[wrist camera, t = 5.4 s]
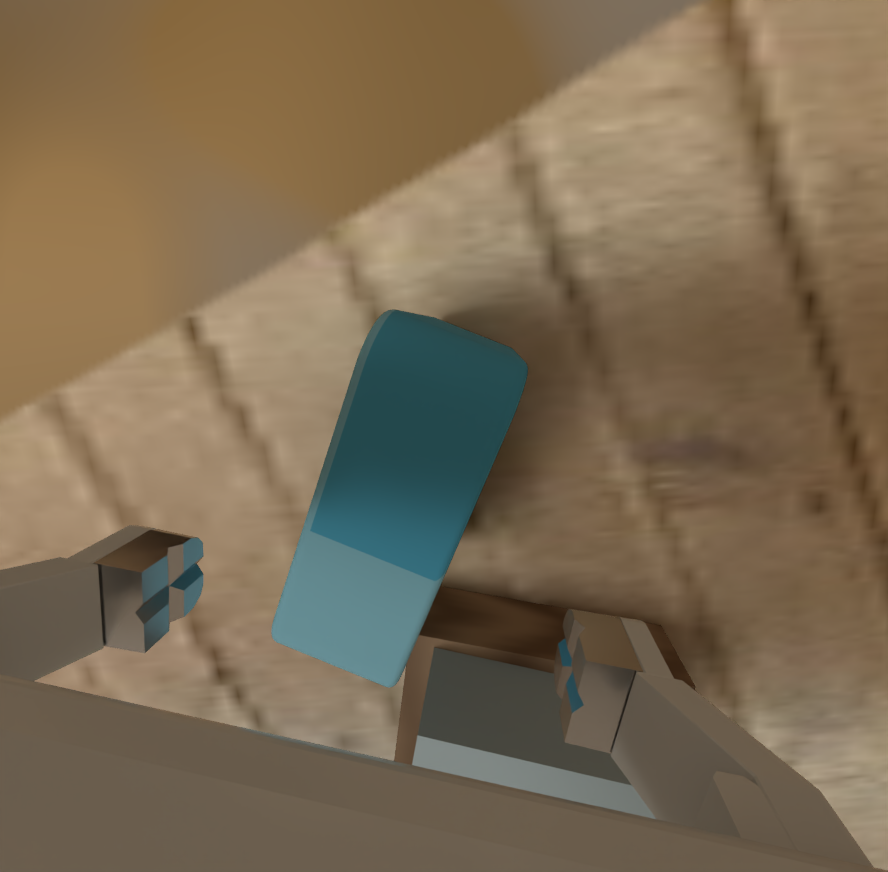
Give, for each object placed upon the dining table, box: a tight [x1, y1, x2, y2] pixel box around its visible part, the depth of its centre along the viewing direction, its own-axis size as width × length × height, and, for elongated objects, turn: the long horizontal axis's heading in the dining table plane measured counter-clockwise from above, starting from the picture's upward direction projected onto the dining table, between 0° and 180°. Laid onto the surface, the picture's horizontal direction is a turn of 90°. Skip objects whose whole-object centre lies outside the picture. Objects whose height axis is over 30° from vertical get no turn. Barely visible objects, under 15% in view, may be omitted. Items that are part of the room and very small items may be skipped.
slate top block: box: [412, 647, 656, 819], centre depth 21 cm, size 12×13×5 cm
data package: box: [272, 310, 528, 687], centre depth 19 cm, size 12×4×12 cm, turn 159°
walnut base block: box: [394, 586, 695, 765], centre depth 26 cm, size 14×14×5 cm
